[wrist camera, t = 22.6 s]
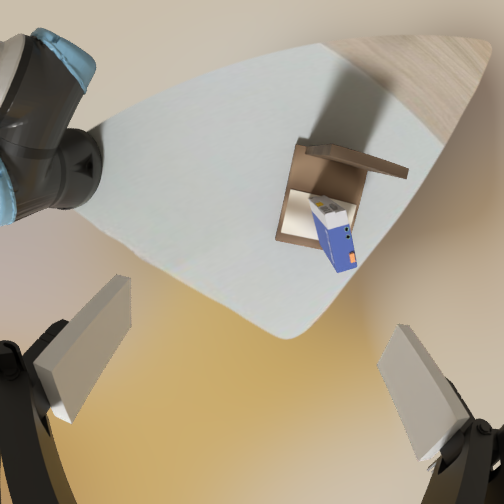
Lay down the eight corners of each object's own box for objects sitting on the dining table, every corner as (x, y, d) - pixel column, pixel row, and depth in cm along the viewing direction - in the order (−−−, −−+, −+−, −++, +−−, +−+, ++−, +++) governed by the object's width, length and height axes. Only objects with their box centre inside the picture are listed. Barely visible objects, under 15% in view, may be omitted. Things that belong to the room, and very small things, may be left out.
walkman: (335, 239, 46) (358, 268, 34) (319, 244, 46) (337, 274, 35) (324, 193, 43) (346, 207, 32) (307, 197, 43) (324, 214, 32)
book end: (342, 251, 48) (379, 300, 32) (275, 237, 48) (283, 284, 31) (365, 163, 43) (419, 172, 26) (295, 144, 42) (317, 140, 26)
